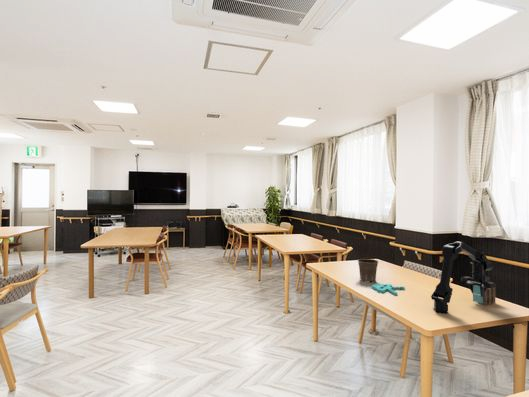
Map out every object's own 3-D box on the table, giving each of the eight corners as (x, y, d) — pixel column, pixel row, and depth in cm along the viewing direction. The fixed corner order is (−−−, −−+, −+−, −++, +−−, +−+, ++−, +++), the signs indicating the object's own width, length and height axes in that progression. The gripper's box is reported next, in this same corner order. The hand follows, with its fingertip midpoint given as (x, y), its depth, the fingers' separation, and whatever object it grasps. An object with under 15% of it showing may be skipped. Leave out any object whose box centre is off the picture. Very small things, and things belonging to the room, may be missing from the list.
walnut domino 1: (485, 305, 199) (485, 289, 199) (477, 302, 204) (477, 287, 204) (487, 304, 200) (487, 289, 200) (479, 302, 204) (479, 287, 204)
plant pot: (378, 283, 249) (378, 263, 249) (357, 281, 255) (357, 261, 255) (378, 278, 265) (378, 259, 265) (358, 277, 270) (358, 258, 270)
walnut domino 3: (493, 303, 202) (493, 288, 202) (485, 301, 207) (485, 286, 207) (495, 303, 203) (495, 287, 203) (487, 300, 207) (487, 285, 207)
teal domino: (480, 303, 198) (480, 287, 198) (472, 300, 202) (472, 285, 202) (482, 303, 198) (482, 287, 198) (475, 300, 203) (475, 285, 203)
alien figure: (404, 289, 234) (377, 285, 247) (404, 286, 234) (377, 282, 247) (396, 296, 219) (368, 290, 231) (396, 293, 219) (368, 287, 231)
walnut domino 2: (489, 304, 201) (489, 288, 201) (481, 302, 205) (481, 286, 205) (491, 304, 201) (491, 288, 201) (483, 301, 206) (483, 286, 206)
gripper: (501, 273, 195) (501, 298, 195) (472, 267, 212) (472, 290, 212) (489, 275, 190) (489, 300, 190) (460, 268, 208) (460, 292, 208)
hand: (477, 295), depth 200 cm, fingers closed on teal domino, 5 cm apart
